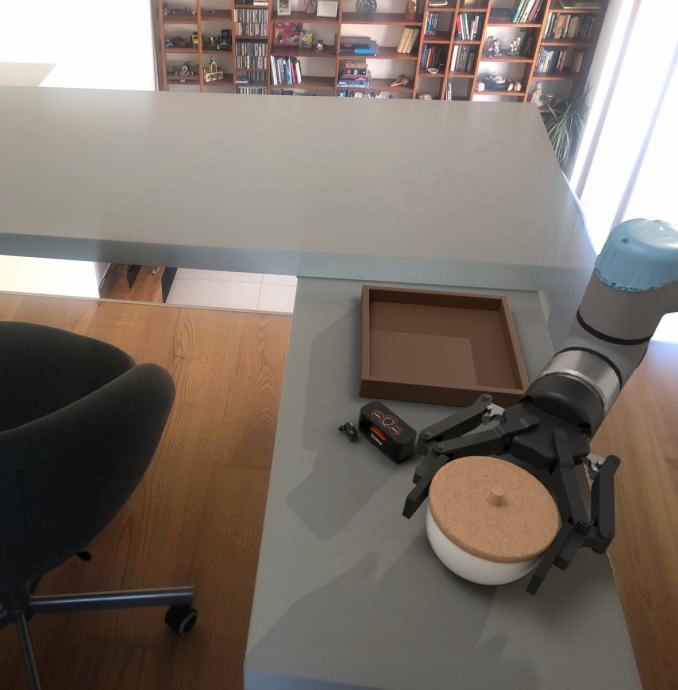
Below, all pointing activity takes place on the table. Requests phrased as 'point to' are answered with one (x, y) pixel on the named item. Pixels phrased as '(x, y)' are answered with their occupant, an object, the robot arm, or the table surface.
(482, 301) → the tray
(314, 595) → the table surface
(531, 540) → the trinket box
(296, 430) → the table surface
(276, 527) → the table surface
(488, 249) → the table surface
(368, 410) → the wireless earbuds
